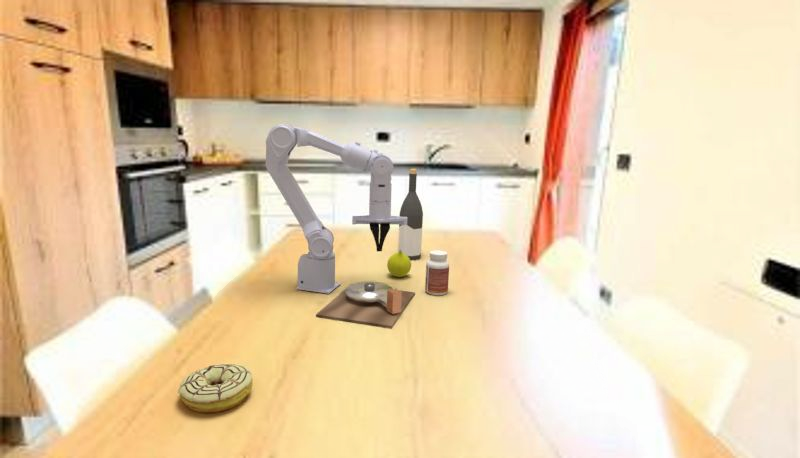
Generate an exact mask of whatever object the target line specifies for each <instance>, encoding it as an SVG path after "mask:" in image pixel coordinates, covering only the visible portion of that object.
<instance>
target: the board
mask: <svg viewBox="0 0 800 458" xmlns="http://www.w3.org/2000/svg"><path fill="white" fill-rule="evenodd" d="M345 290H346V288H345V289H343V290H342V291H341V292H340V293H339V294H338V295H336V297H334V298H332V299H331V301H329V302H328V304H326V305H325V306H324V307H322V309H320V310H319V311H318V312H317V313H316V314H315V318H321V319H327V320H334V321H340V322H341V321H342V322H349V323H354V324H358V325H366V326H373V327H380V328H385V329H386V328H387V329H392V328H393V327H394V326H395V324H396V323H397V322H398V320H399V319H400V317H401V316H402V314H403V313H404V311H405V310H406V308H407V307H408V305H409V304H410V302H411V301H412V299H413V298H414V296H415V295H416V292H415V291H408V290H401V289H398V290H399V291H401V292H402V299H401V312H399V313H395V314H391V313H390V312H388V311H387V307H385V306H384V305H382V304H380V303H379V302H360V301H355V300H352V299H350V298H348V297H347V296H346V294H345Z"/></svg>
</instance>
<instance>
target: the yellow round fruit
mask: <svg viewBox="0 0 800 458" xmlns="http://www.w3.org/2000/svg"><path fill="white" fill-rule="evenodd" d="M411 261H412V260H410V259H409V257H408V256H407V255H405V254H403V253H402V249H399V252H398V251H397V252H396V253H393V254H392V255H390V257H389V258H388V260H387V264H386V265H387V266H386V267H387V270H388V272H389V274H390V275H392V276H393V277H397V278H401V277H405V276H407V275H408V274H409V273H410V271H411V268H412V262H411Z"/></svg>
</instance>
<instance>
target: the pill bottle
mask: <svg viewBox="0 0 800 458" xmlns="http://www.w3.org/2000/svg"><path fill="white" fill-rule="evenodd" d="M428 257H429V259H427V261H426V266H425V283H424V284H425V285H424V287H425V288H424V289H425V292H426V293H427V294H429V295H430V296H431V295H432V296H443V295H446V294H447V293H448V291H449V278H450V276H449V275H450V262H449V261H448V260H447V258H448V252H447V251H444V250H440V249H438V250H437V249H436V250H430V251H429V256H428Z"/></svg>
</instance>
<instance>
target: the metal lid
mask: <svg viewBox="0 0 800 458" xmlns="http://www.w3.org/2000/svg"><path fill="white" fill-rule="evenodd" d="M345 289H346V290H345ZM345 289H344V290H345V294H346V296H347V297H348V298H350V299H352V300H355V301H360V302H379V303H380V304H382V305H384V306H385V307H387V311H388V312H390V313H391V314H395V313H399V312H401V299H402V292H401V291H402V290H401V291H399V290H400V289H397V288H393V287H392V286H390V285H389V284H386V283H385V282H384V283H383V282H378V281H359V282H354V283H351V284H348V285H347V286H346V288H345Z"/></svg>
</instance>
